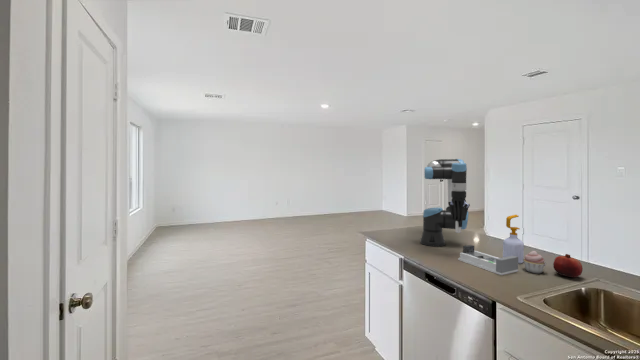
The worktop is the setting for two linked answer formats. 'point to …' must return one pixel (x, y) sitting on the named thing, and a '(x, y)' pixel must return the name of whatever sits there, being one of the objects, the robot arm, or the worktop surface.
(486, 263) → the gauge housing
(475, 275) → the worktop surface
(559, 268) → the fruit
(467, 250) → the block with dark end
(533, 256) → the cupcake
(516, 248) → the soap bottle
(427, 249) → the worktop surface
